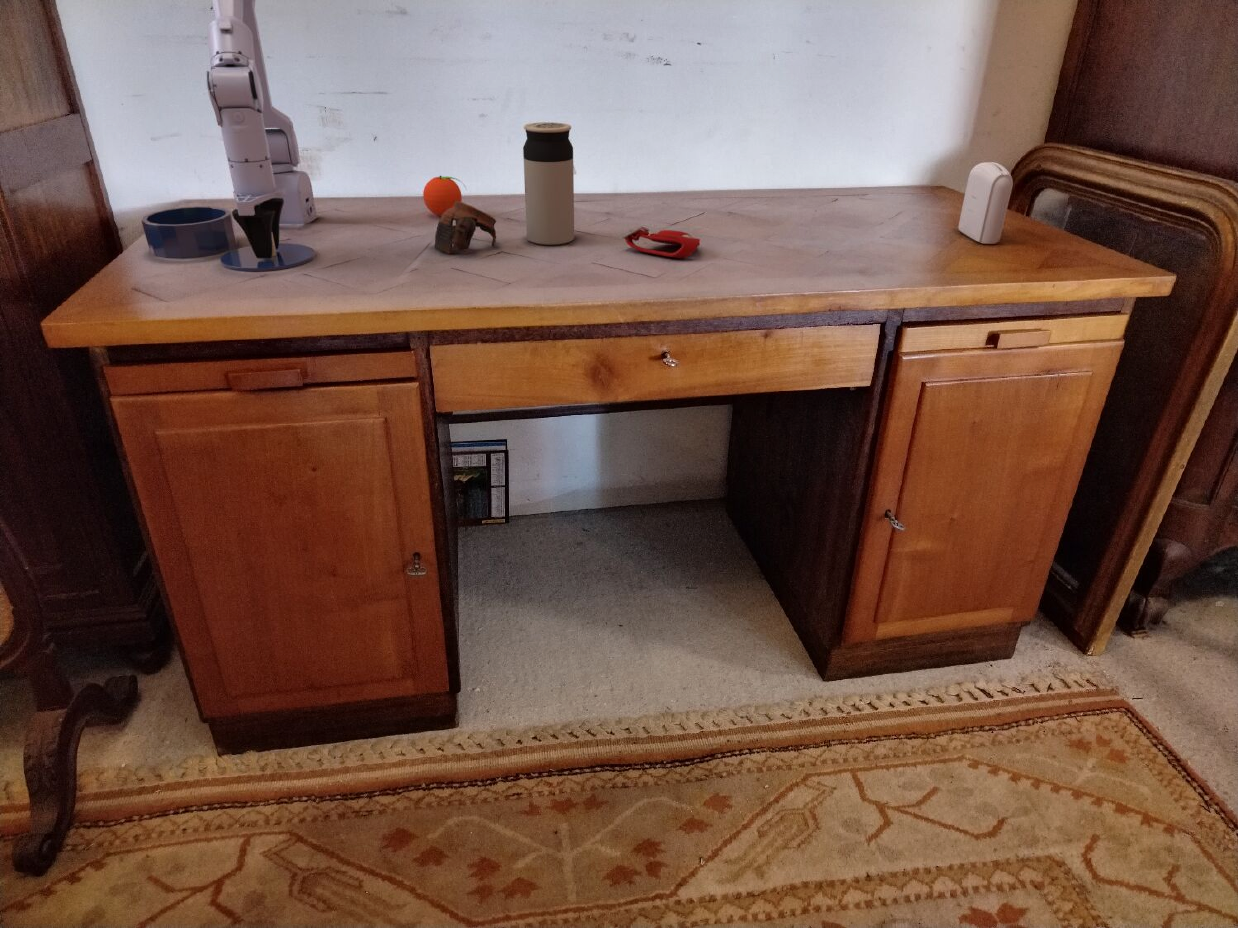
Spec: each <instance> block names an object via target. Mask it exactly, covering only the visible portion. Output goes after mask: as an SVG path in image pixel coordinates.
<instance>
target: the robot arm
mask: <svg viewBox="0 0 1238 928" xmlns="http://www.w3.org/2000/svg"><path fill="white" fill-rule="evenodd" d="M211 3H212V8H213V13H214V19H213V20H212V21H210V23H208V26H207V40H208V51H209V63H210V64H209V65H210V66H209V67H210V71H209V70H205V71H206V72H205V82H206V89H207V94H208V97H209V100H210V103H211V106H212V109H213V111H214V115H215V120H216V123H217V126H218V127H220V131H221V136H222V141H223V145H224V150H225V155H226V161H227V165H228V168H229V173H230V178H231V183H232V188H233V191H232V194H233V198H234V200H235V203H236V208H234V209H233V210H232V211H231V216H232V219H234V221H235V223H237V225H239V227H240V228H241V229H242V231H243V233H244V235H245V236H246V238H247V240H248V243H249V246H251V247H252V249H253V252H254V254H255V256H256V257H257V258H271V257H272V233H273V238H274V243H275V248H276V249H278V248H279V243H280V226H304V225H306V224H310V223H312V222H313V221H315V220H316V219H318V218H319V214H317V210H316V205H315V198H314V197H315V196H314V191H313V185H312V182H311V178H310V176H309V174H308V173H307V172H306V171H304V170H297V169H295V168H297V167H298V165H299V164H300V163H301V161H300V160H301V159H300V151H299V144H298V140H297V134H296V131H295V128H294V123H293V121H292V120H291V118H290V117H289V116H288V115H287V114H285V113H283V112H282V111H280V110H279V109H277V108H275V107H274V106H273V102H272V96H271V91H270V86H269V80H268V75H267V69H266V64H265V57H264V52H263V47H262V42H261V37H260V31H259V26H258V20H257V19H258V18H257V15H256V0H211Z"/></svg>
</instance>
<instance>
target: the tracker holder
mask: <svg viewBox="0 0 1238 928" xmlns="http://www.w3.org/2000/svg"><path fill="white" fill-rule="evenodd" d="M621 238H622V239H623V240H625V242H626V244H627V245H628V246H629V247H630V248H632V249H634V250H637V251H639V252H643V253H646V254H652V255H657V256H658V255H659V256H664V257H669V258H677V259H686V258H688V257H690V256H691V255H692V254H693V253H695V251H696V250H697V248H698V247H699V246H700V244H701V243H700V242H701V239H700V238H696V237H693V236H692V235H691V234H689V233H688V232H685V231H681V230H677V229H663V230H660V231H658V232H657V233H655V232H654V233H650V229H649V228H647V227H646V226H643V225H640V226H638V227H636V228H634V229H631V230H629V231H628V232H627V233H625V234H623V235H621ZM640 238H643V239H647V240H649V241H651V242H655V243H659V244H665V245H672V246H678V247H679V246H680V248H679V249H678V250H676V251H675V252H665V251H660V250H654V249H649V248H644V247H642V246H639V245H637V244H635V242H636V241H639V240H640ZM634 241H635V242H634Z"/></svg>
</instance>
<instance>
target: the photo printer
mask: <svg viewBox="0 0 1238 928" xmlns="http://www.w3.org/2000/svg"><path fill="white" fill-rule="evenodd" d="M1013 184H1014V180H1013V177H1012V175H1011V173H1010V172H1009V170H1008V169H1007V168H1006V167H1004V166H1003V165H1002V164H1000V163H998V162H994V161H990V162H988V161H987V162H986V161H985V162H980V163H978V164H976V165H975V166H973V168H972V169H971V170H970V172H969V175H968V179H967V183H966V189H965V192H964V197H963V202H962V207H961V211H960V216H959V221H958V227H957V228H958V231H959V232H961V233H962V234H964V235H965V236H967V237H969V238H970V239H972V240H974V241H976V242H978V243H980V244H985V245H995V244H997V243H999V242H1000V240H1001V237H1002V232H1003V228H1004V223H1005V218H1006V214H1007V212H1008V206H1009V202H1010V198H1011V194H1012V189H1013Z"/></svg>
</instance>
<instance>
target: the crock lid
mask: <svg viewBox="0 0 1238 928" xmlns="http://www.w3.org/2000/svg"><path fill="white" fill-rule="evenodd" d="M315 257H316V252H315V250H314V249H313V248H312V247H310V246H307V245H303V244H298V243H285V242H283V243H280V242H279V248H278V249H276V248H275V243H274V238H273V233H272V257H271V258H257V257H256V256H255V254H254V252H253V249H252V247H251V245H248V246H243V247H240V248H236V249H232V250H230V251H227V252H225V253H224V254H223V255H222V256H221V257H220V258H219V259H220V264H221V266H223V268H226V269H229V270H233V271H239V272H271V271H280V270H286V269H291V268H295V267H299V266H302V265H304V264H307V263H309V262H311V261H312V260H314V259H315Z"/></svg>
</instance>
